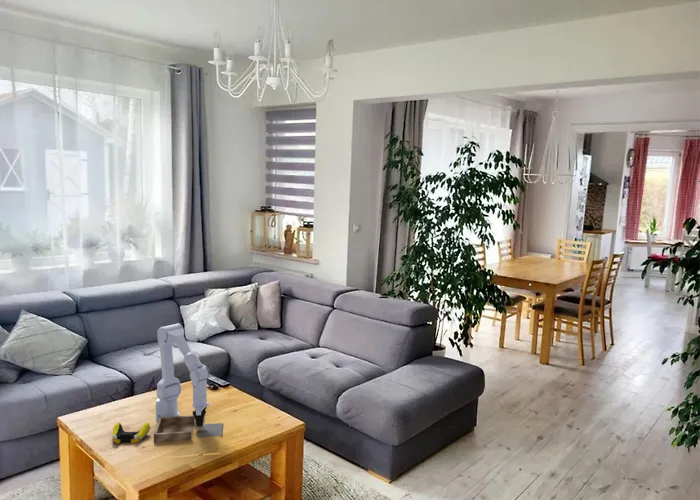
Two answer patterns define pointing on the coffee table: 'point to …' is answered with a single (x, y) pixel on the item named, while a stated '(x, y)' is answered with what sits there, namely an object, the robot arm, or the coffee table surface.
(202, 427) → the block
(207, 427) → the mat
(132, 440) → the gaming controller
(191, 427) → the crate
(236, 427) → the coffee table surface
